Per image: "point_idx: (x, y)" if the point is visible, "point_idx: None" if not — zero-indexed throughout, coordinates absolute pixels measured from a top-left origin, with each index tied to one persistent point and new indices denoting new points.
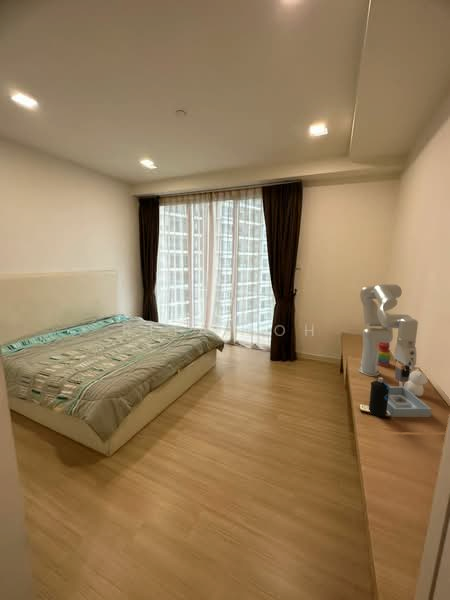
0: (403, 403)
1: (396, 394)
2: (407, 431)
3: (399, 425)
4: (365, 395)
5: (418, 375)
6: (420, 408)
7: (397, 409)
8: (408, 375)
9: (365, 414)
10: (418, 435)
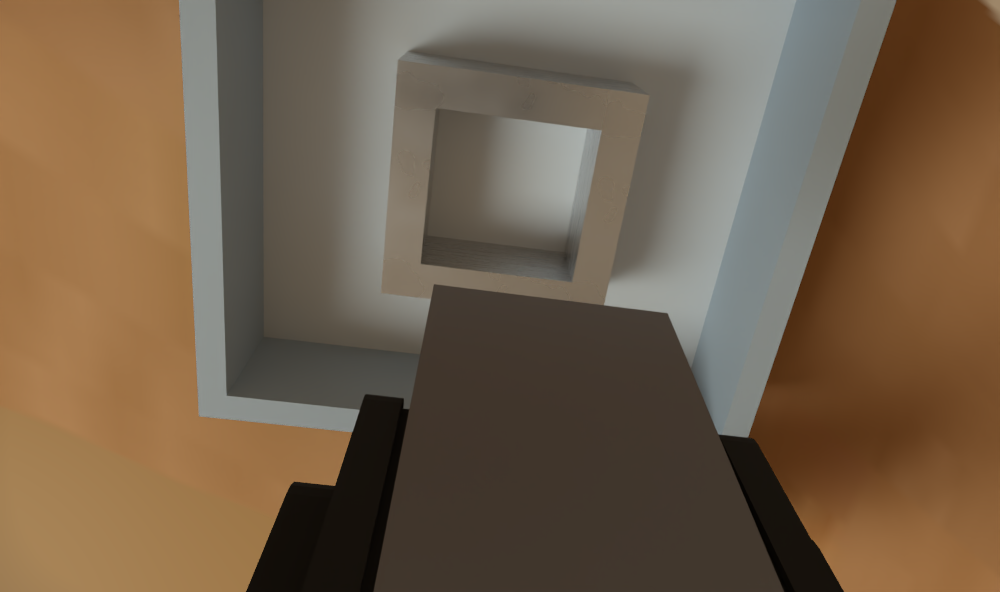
0: (610, 212)
1: (262, 5)
2: (894, 398)
3: (804, 409)
4: None
5: None
6: (837, 126)
7: (746, 432)
8: (817, 549)
9: None
10: (974, 343)
